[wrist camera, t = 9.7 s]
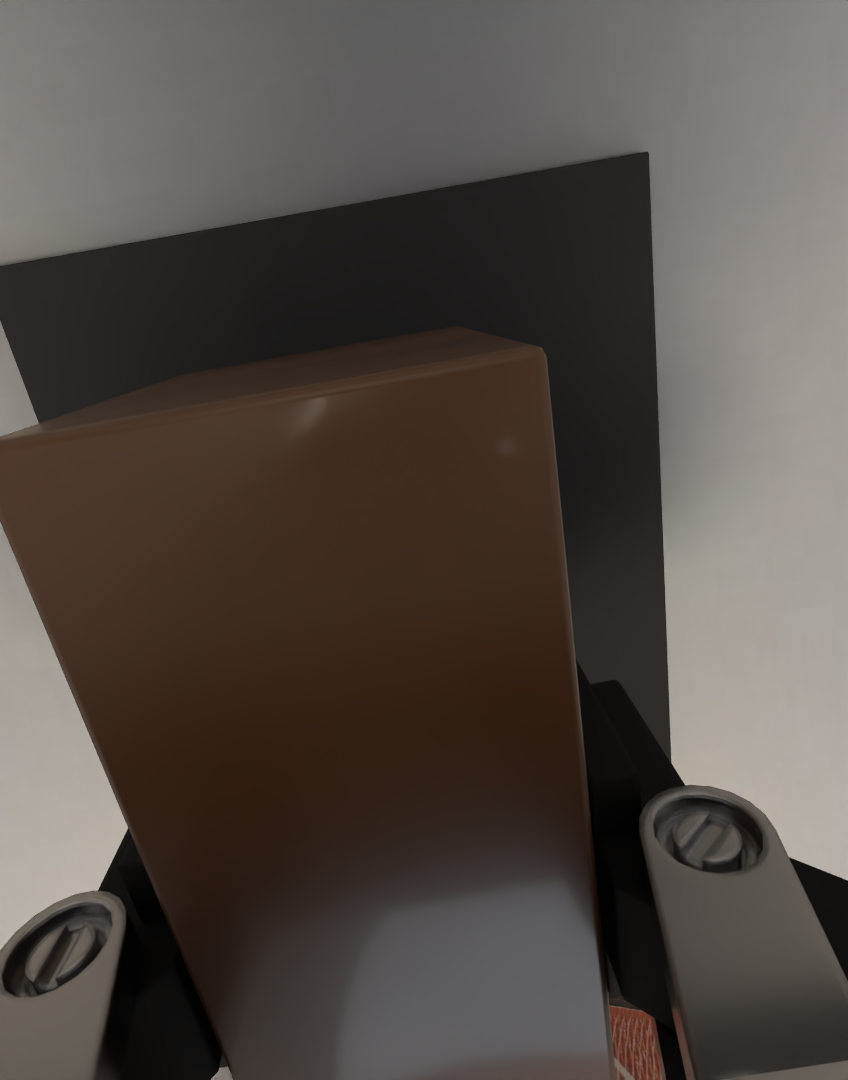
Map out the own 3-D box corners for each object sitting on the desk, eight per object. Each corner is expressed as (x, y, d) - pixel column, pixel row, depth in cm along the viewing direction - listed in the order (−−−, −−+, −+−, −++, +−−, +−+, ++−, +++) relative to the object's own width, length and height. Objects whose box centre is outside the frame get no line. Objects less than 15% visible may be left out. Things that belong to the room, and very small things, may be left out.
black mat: (-11, 270, 12) (-20, 269, 11) (642, 154, 12) (649, 150, 11) (228, 908, 17) (225, 919, 17) (669, 831, 17) (674, 840, 17)
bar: (180, 374, 9) (-38, 447, 4) (461, 324, 9) (548, 344, 4) (353, 970, 13) (337, 1337, 8) (546, 936, 13) (637, 1284, 8)
